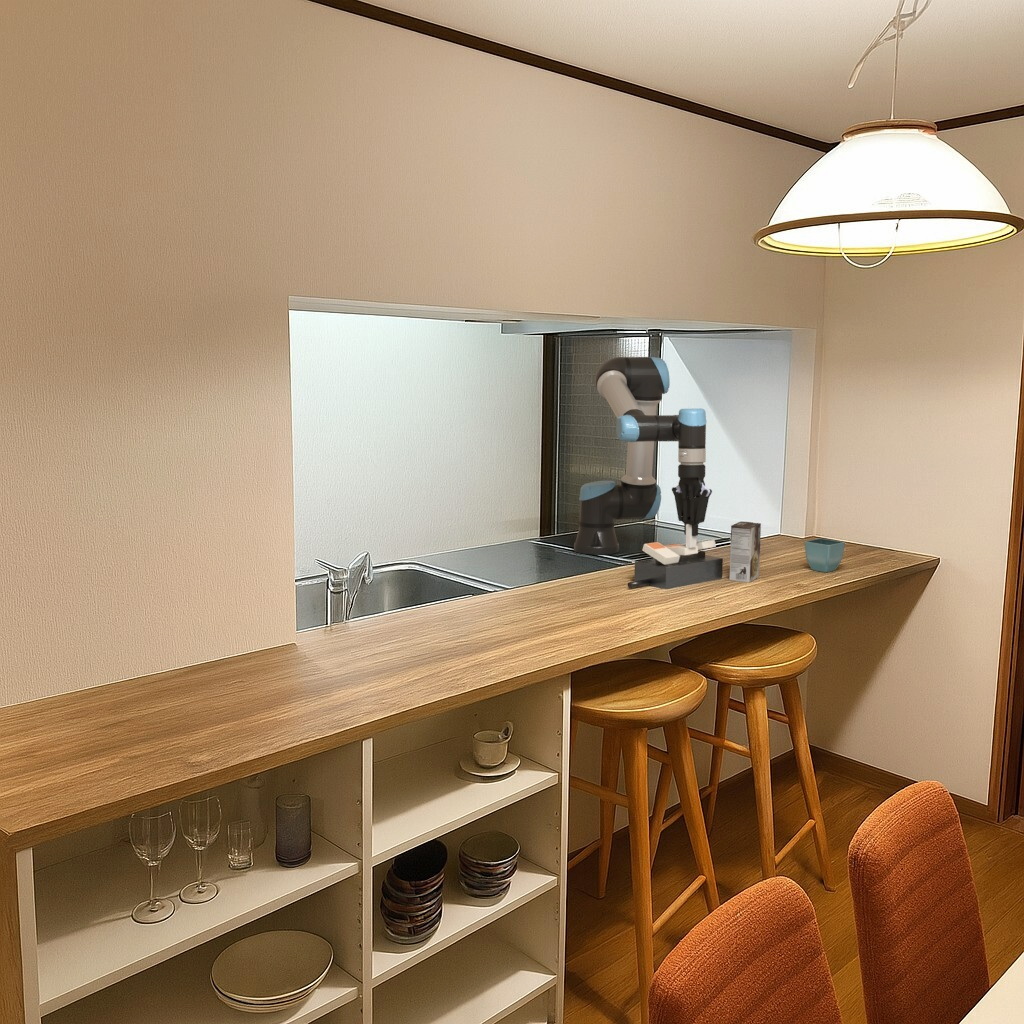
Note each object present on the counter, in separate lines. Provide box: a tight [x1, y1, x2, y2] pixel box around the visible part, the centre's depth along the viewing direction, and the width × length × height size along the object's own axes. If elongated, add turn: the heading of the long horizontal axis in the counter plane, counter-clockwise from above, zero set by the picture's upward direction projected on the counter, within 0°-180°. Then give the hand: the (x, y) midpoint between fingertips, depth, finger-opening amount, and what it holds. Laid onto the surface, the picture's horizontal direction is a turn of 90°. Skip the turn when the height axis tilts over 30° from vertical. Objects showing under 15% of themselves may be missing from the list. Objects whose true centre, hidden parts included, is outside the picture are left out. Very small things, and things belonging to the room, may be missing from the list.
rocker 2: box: [664, 543, 698, 555], centre depth 280 cm, size 9×6×2 cm, turn 38°
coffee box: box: [728, 521, 762, 583], centre depth 283 cm, size 9×6×16 cm
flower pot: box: [804, 538, 846, 573], centre depth 296 cm, size 9×9×9 cm
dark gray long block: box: [627, 550, 724, 590], centre depth 278 cm, size 12×32×7 cm, turn 129°
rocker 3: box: [696, 539, 717, 551], centre depth 285 cm, size 9×6×2 cm, turn 38°
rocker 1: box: [642, 541, 680, 565], centre depth 274 cm, size 9×6×2 cm, turn 39°
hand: (691, 546), depth 276 cm, fingers closed
